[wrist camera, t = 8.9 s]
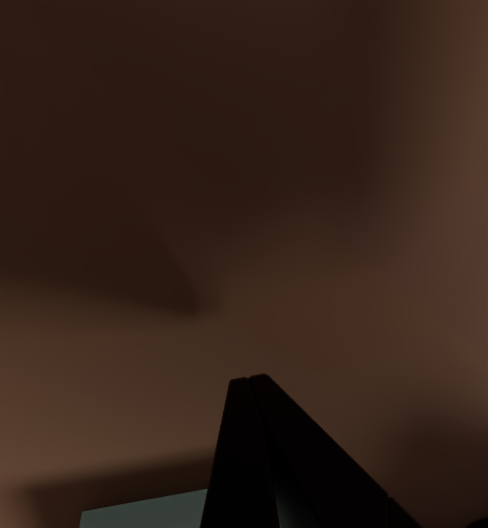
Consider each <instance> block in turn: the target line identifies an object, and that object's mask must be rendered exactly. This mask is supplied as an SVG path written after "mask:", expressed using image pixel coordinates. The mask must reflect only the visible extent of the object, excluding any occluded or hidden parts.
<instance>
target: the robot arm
mask: <svg viewBox="0 0 488 528" xmlns="http://www.w3.org/2000/svg"><path fill="white" fill-rule="evenodd" d="M280 527H281V528H423V527H422V526H421V525H420V524H419V523H418V522H417V521H416V520H415V519H414V518H413V517H412V516H411V515H410V514H409V513H408V512H407V511H406V510H405V509H404V508H403V507H402V506H401V505H400V504H399V503H398V502H397V501H396V500H395V499H394V498H392V497H390V498H389V495H388V493H387V492H386V491H385V490H384V489H383V488H382V487H381V486H380V485H379V484H378V483H377V482H376V481H375V480H374V479H373V478H372V477H371V476H370V475H369V474H368V473H367V472H366V471H365V470H364V469H363V468H362V467H361V466H360V465H359V464H358V463H357V462H356V461H355V460H354V459H353V458H352V457H351V456H350V455H349V454H348V453H347V452H346V451H345V450H344V449H342V448H341V447H340V446H339V445H338V444H337V443H336V442H335V441H334V440H333V439H332V438H331V437H330V436H329V435H328V434H327V433H326V432H325V431H324V430H323V429H322V428H321V427H320V426H319V425H318V424H317V423H316V422H315V421H314V420H313V419H312V418H311V417H310V416H309V415H308V414H307V413H306V412H305V411H304V410H303V409H302V408H301V407H300V406H299V405H298V404H297V403H296V402H295V401H294V400H293V399H292V398H291V397H290V396H289V395H288V394H287V393H286V392H285V391H284V390H283V389H282V388H281V387H280V386H278V385H277V384H276V383H275V382H274V381H273V380H272V379H271V378H270V377H269V376H268V375H267V374H258V375H252V376H250V377H249V378H247V377H242V378H236V379H232V380H230V382H229V386H228V391H227V396H226V400H225V405H224V410H223V415H222V420H221V425H220V430H219V435H218V440H217V444H216V449H215V454H214V459H213V464H212V469H211V474H210V479H209V484H208V488H207V493H206V498H205V503H204V508H203V513H202V518H201V523H200V527H199V528H280ZM475 528H488V523H484V524H481V525H478V526H477V527H475Z"/></svg>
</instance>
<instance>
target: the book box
mask: <svg viewBox="0 0 488 528" xmlns="http://www.w3.org/2000/svg"><path fill="white" fill-rule="evenodd" d="M206 493H207V489H203V490H198V491H192V492H187V493H181V494H176V495H170V496H165V497H159V498H154V499H148V500H143V501H137V502H132V503H126V504H121V505H115V506H110V507H104V508H99V509H93V510H88V511H82V515H81V520H80V525H79V528H199V527H200V523H201V518H202V513H203V508H204V503H205V498H206ZM280 528H281V527H280Z"/></svg>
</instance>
